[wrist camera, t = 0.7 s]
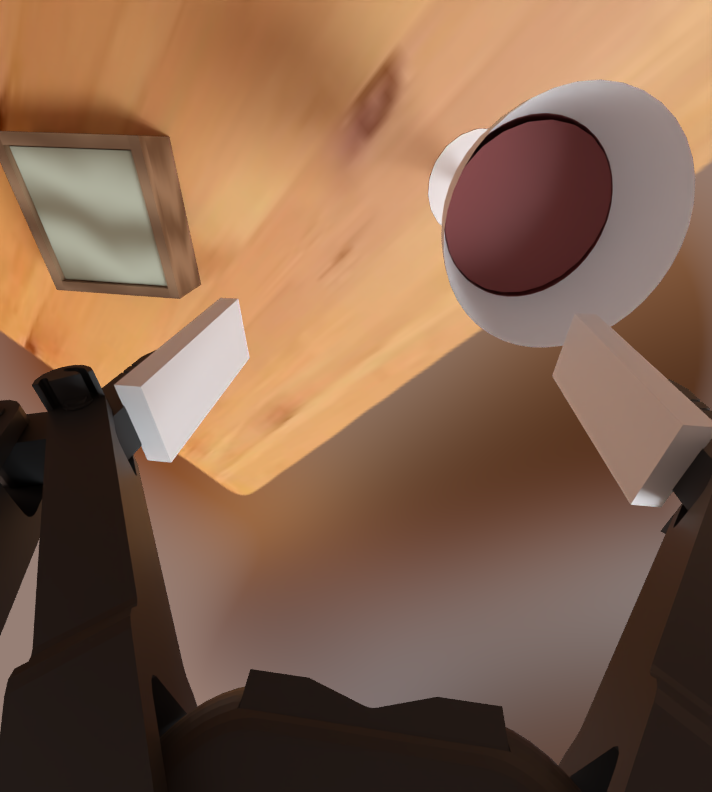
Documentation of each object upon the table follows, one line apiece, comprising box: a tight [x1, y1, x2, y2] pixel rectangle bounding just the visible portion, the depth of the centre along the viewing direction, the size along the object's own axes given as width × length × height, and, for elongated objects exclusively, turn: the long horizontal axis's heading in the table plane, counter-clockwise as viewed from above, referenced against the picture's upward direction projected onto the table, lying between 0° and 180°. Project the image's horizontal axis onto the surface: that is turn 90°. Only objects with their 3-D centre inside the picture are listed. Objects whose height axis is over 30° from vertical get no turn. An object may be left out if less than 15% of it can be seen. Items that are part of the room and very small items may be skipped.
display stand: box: [0, 131, 201, 299], centre depth 37 cm, size 14×14×5 cm
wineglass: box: [428, 80, 695, 347], centre depth 24 cm, size 9×10×23 cm
